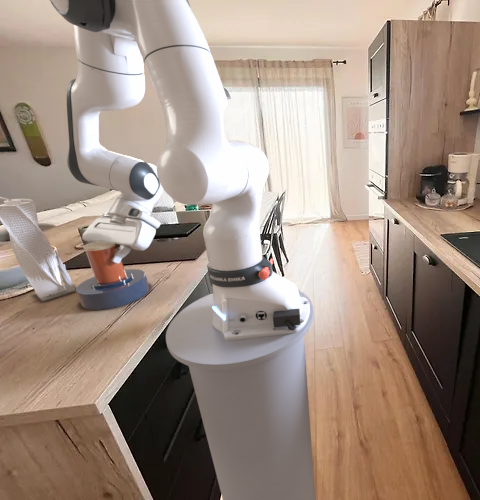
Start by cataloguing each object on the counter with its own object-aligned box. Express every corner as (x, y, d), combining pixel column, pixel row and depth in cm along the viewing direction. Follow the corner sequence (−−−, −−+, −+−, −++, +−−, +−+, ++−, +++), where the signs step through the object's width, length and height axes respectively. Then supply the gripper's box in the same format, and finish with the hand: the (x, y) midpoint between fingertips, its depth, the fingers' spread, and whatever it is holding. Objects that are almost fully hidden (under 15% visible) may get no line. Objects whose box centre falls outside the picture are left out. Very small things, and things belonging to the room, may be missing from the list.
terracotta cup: (132, 272, 81) (122, 239, 78) (114, 284, 75) (102, 248, 71) (109, 272, 81) (97, 239, 78) (88, 284, 75) (75, 248, 71)
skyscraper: (35, 304, 76) (-13, 198, 66) (27, 295, 80) (-20, 195, 70) (76, 291, 82) (38, 193, 72) (67, 283, 86) (29, 190, 76)
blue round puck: (160, 282, 87) (156, 266, 85) (124, 310, 73) (118, 291, 71) (111, 282, 87) (106, 266, 85) (65, 310, 73) (58, 291, 71)
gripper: (91, 207, 81) (62, 251, 75) (147, 212, 75) (120, 260, 70) (112, 219, 86) (87, 261, 81) (165, 224, 81) (142, 269, 76)
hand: (103, 260), depth 75 cm, fingers closed on terracotta cup, 6 cm apart
